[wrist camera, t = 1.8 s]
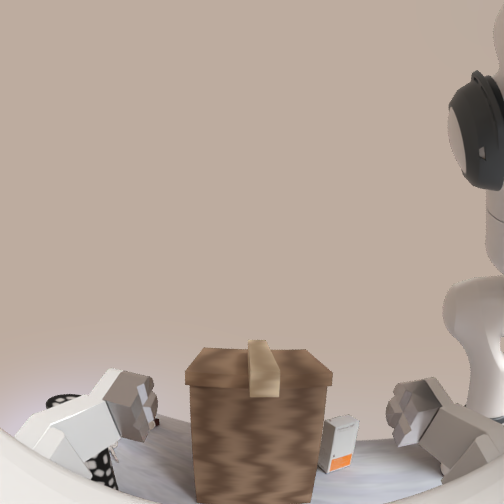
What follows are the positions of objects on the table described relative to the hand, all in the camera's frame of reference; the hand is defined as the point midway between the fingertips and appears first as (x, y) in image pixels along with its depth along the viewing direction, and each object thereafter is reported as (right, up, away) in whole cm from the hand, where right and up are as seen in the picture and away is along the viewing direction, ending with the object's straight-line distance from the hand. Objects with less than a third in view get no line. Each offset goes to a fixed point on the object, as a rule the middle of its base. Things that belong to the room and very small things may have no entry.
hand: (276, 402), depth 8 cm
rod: (0, -12, +28) cm, 30 cm away
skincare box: (+16, -40, +35) cm, 55 cm away
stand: (-1, -39, +31) cm, 50 cm away
